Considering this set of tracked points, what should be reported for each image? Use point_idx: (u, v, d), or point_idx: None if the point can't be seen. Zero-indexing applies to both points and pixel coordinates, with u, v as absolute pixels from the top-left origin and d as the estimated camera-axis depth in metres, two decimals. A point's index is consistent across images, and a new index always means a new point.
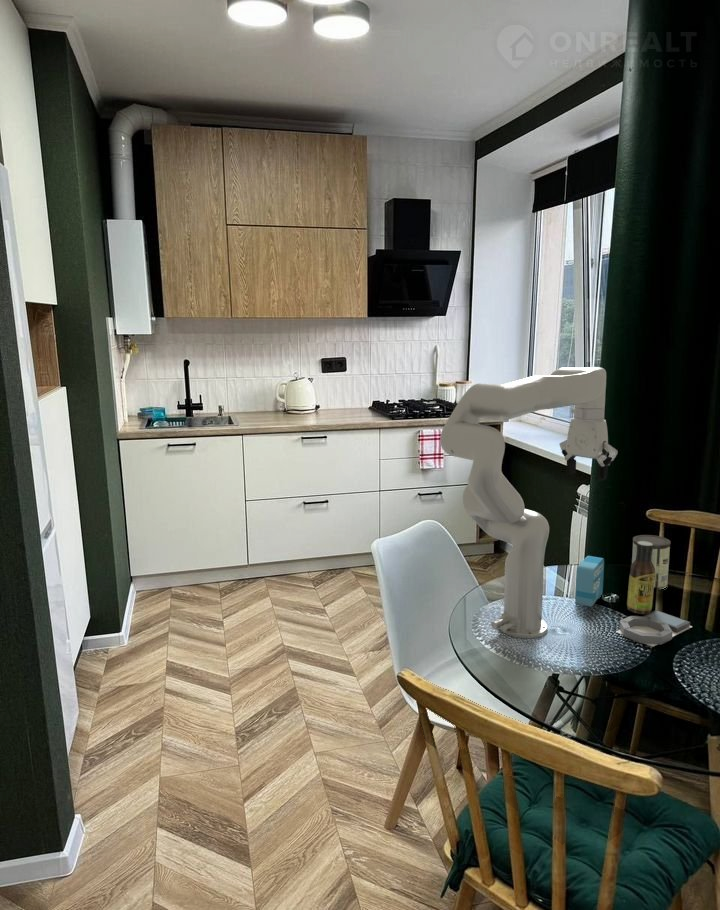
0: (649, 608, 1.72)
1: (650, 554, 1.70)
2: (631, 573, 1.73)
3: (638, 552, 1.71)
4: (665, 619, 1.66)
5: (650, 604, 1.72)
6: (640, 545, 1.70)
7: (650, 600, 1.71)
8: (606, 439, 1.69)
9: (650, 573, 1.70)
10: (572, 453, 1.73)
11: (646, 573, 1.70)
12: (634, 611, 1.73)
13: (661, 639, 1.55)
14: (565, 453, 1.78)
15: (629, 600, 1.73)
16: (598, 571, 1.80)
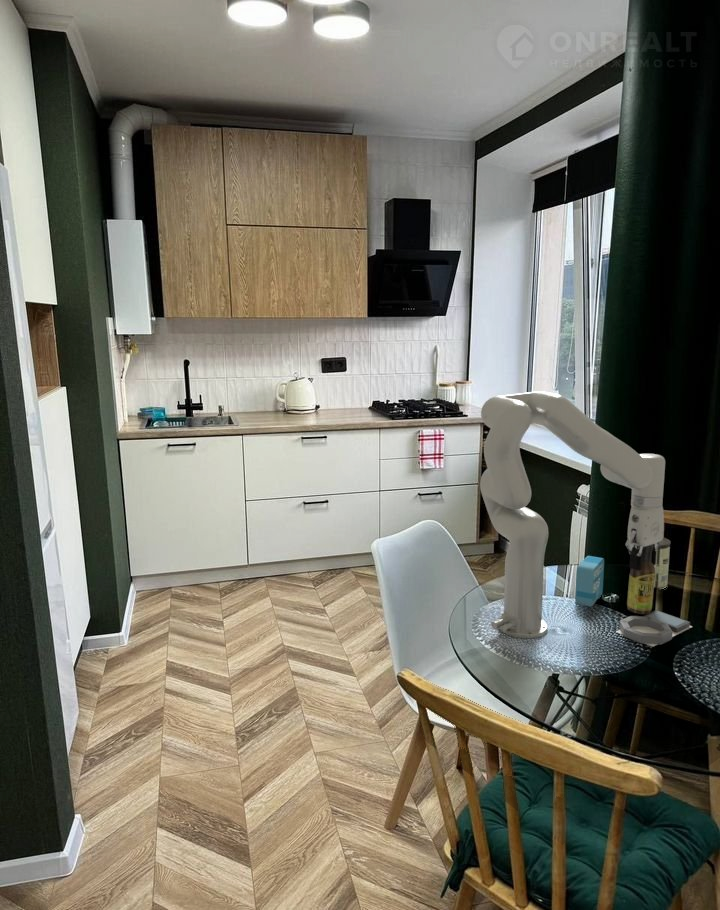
0: (649, 608, 1.72)
1: (650, 554, 1.70)
2: (631, 573, 1.73)
3: None
4: (665, 619, 1.66)
5: (650, 604, 1.72)
6: None
7: (650, 600, 1.71)
8: None
9: (650, 573, 1.70)
10: (648, 544, 1.67)
11: (646, 573, 1.70)
12: (634, 611, 1.73)
13: (661, 639, 1.55)
14: (636, 550, 1.68)
15: (629, 600, 1.73)
16: (598, 571, 1.80)
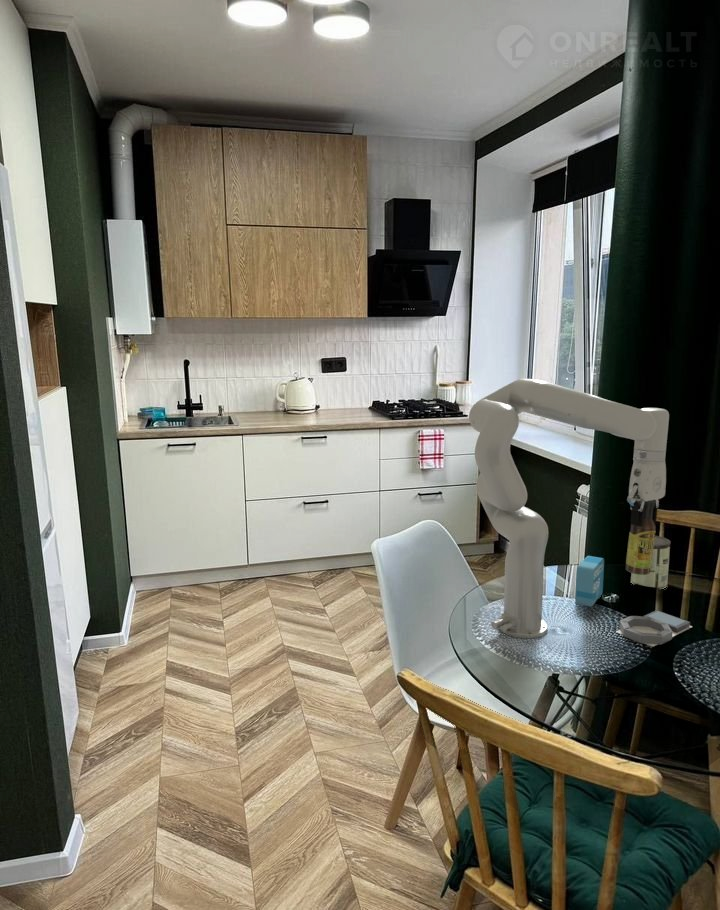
0: (648, 566, 1.69)
1: (651, 511, 1.68)
2: (631, 530, 1.70)
3: None
4: (665, 619, 1.66)
5: (649, 562, 1.69)
6: None
7: (650, 558, 1.69)
8: None
9: (651, 530, 1.67)
10: (649, 499, 1.65)
11: (647, 530, 1.67)
12: (633, 569, 1.70)
13: (661, 639, 1.55)
14: (637, 505, 1.66)
15: (629, 558, 1.71)
16: (598, 571, 1.80)
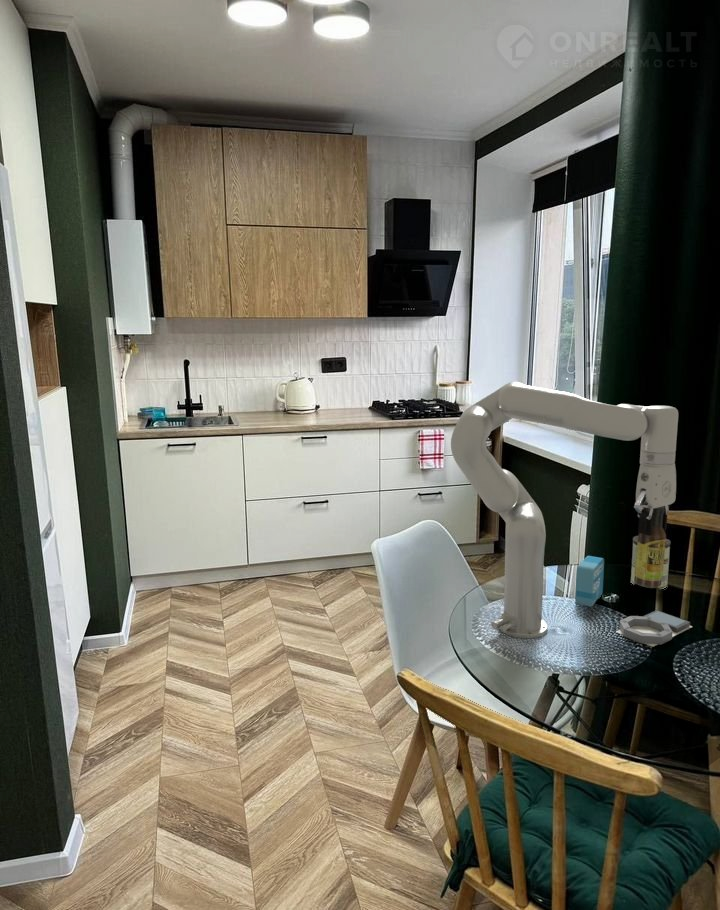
0: (659, 578, 1.55)
1: (661, 518, 1.54)
2: (639, 539, 1.56)
3: None
4: (665, 619, 1.66)
5: (660, 574, 1.55)
6: None
7: (660, 569, 1.55)
8: None
9: (661, 539, 1.53)
10: (659, 505, 1.51)
11: (657, 539, 1.53)
12: (642, 581, 1.56)
13: (661, 639, 1.55)
14: (645, 512, 1.52)
15: (637, 570, 1.57)
16: (598, 571, 1.80)
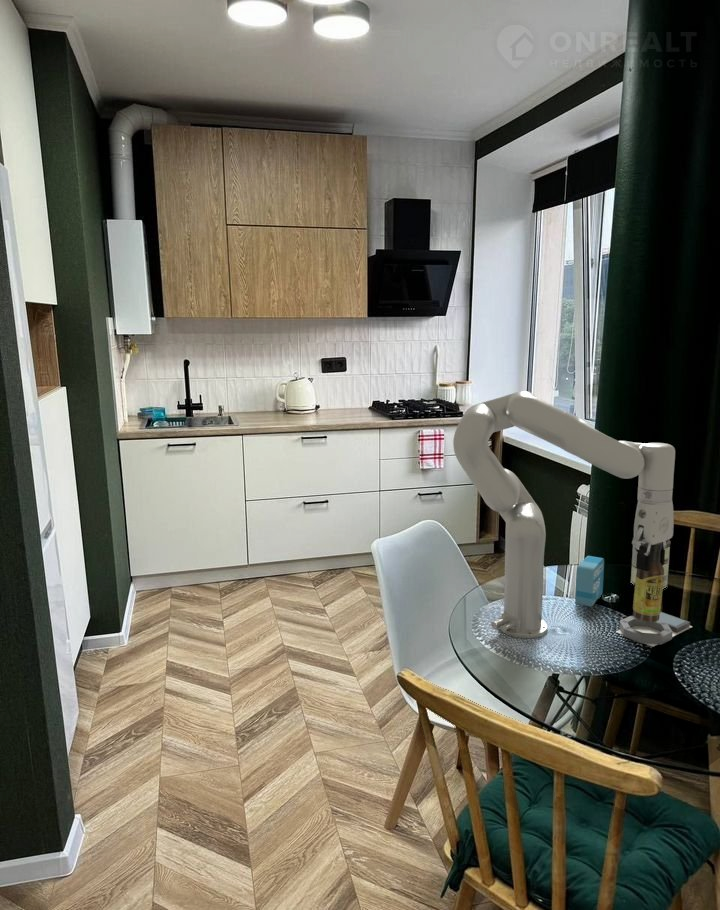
0: (657, 613, 1.57)
1: (659, 554, 1.55)
2: (638, 574, 1.58)
3: None
4: (665, 619, 1.66)
5: (658, 608, 1.57)
6: None
7: (658, 604, 1.56)
8: None
9: (659, 574, 1.55)
10: (656, 542, 1.52)
11: (655, 575, 1.55)
12: (641, 616, 1.57)
13: (661, 639, 1.55)
14: (643, 548, 1.53)
15: (636, 604, 1.58)
16: (598, 571, 1.80)
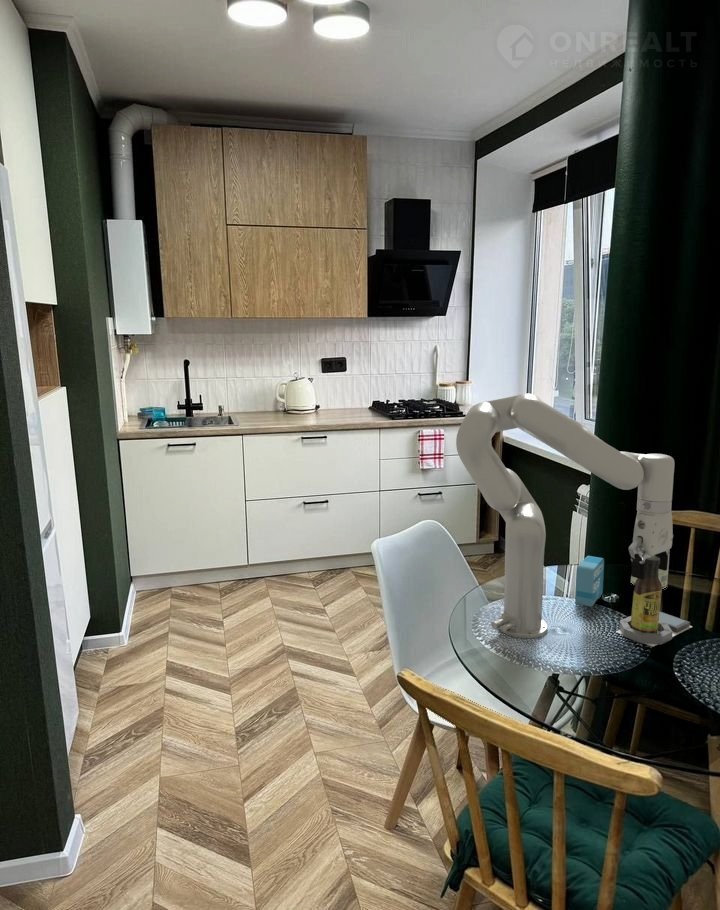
0: (655, 628, 1.57)
1: (657, 569, 1.56)
2: (636, 590, 1.58)
3: None
4: (665, 619, 1.66)
5: (656, 624, 1.57)
6: (646, 559, 1.56)
7: (656, 619, 1.57)
8: None
9: (656, 590, 1.55)
10: (655, 553, 1.53)
11: (652, 590, 1.55)
12: None
13: (661, 639, 1.55)
14: (638, 557, 1.52)
15: (633, 619, 1.59)
16: (598, 571, 1.80)
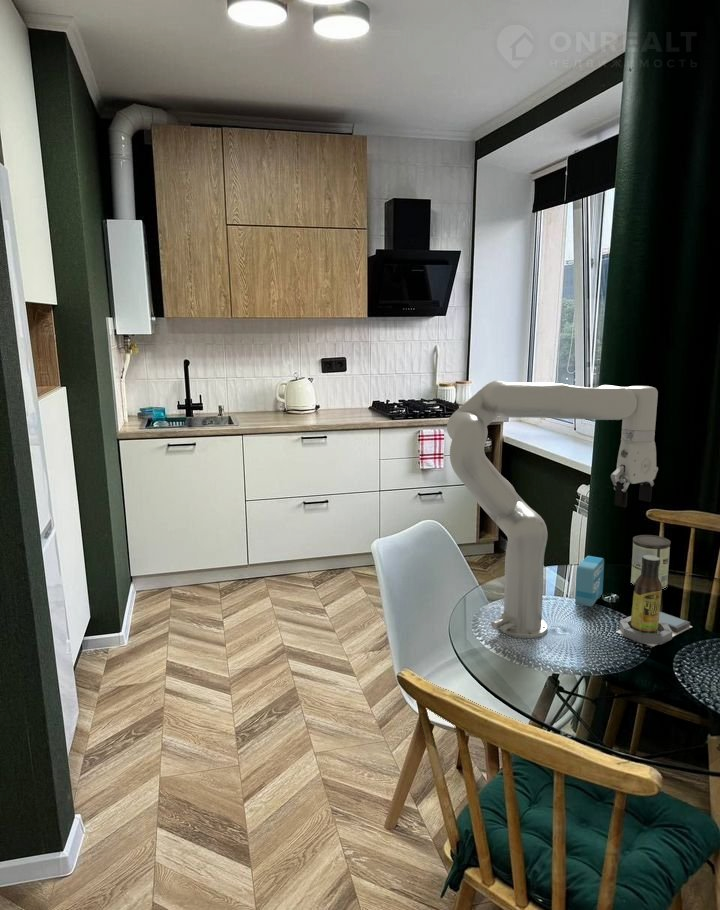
0: (655, 628, 1.57)
1: (657, 569, 1.56)
2: (636, 590, 1.58)
3: (643, 567, 1.57)
4: (665, 619, 1.66)
5: (656, 624, 1.57)
6: (646, 560, 1.56)
7: (656, 619, 1.57)
8: None
9: (657, 590, 1.55)
10: (637, 481, 1.57)
11: (652, 590, 1.55)
12: None
13: (661, 639, 1.55)
14: (620, 484, 1.57)
15: (633, 619, 1.59)
16: (598, 571, 1.80)
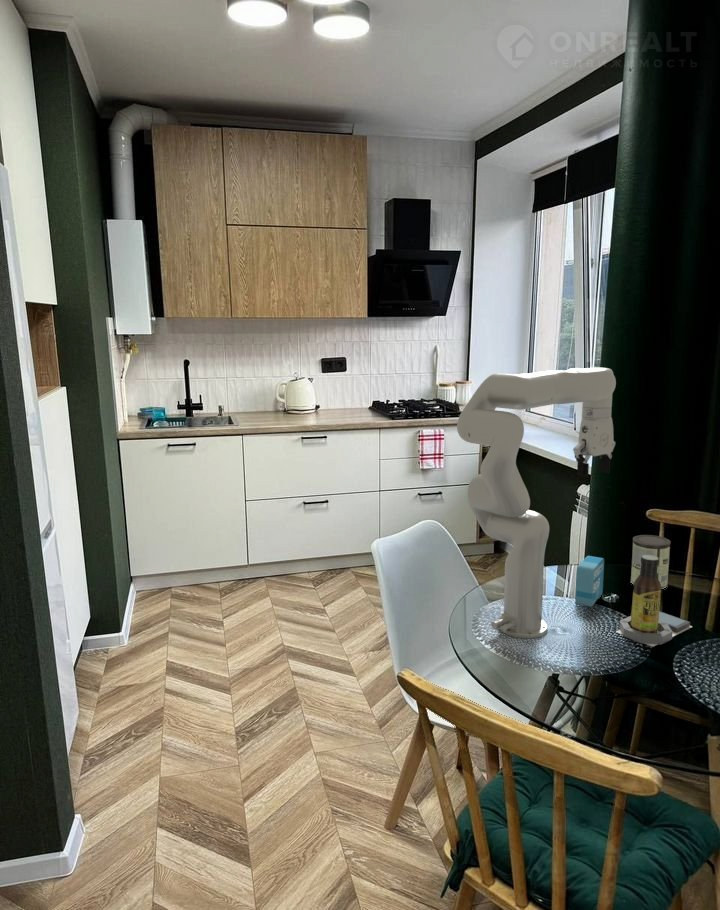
0: (655, 628, 1.57)
1: (655, 569, 1.56)
2: (635, 590, 1.58)
3: (642, 567, 1.57)
4: (665, 619, 1.66)
5: (656, 624, 1.57)
6: (645, 559, 1.56)
7: (656, 619, 1.57)
8: None
9: (656, 590, 1.56)
10: (597, 454, 1.74)
11: (652, 590, 1.55)
12: None
13: (661, 639, 1.55)
14: (582, 457, 1.74)
15: (633, 619, 1.59)
16: (598, 571, 1.80)
